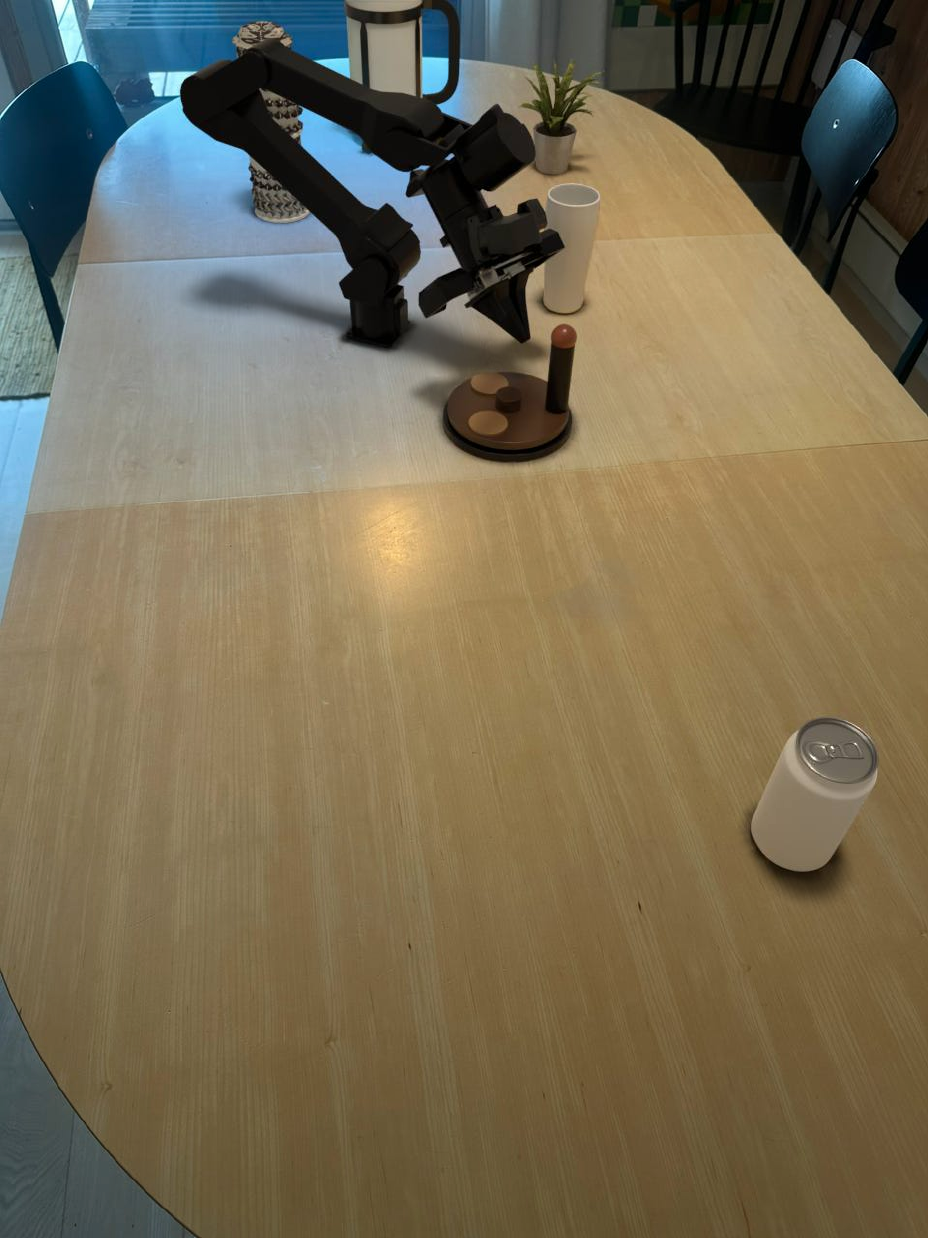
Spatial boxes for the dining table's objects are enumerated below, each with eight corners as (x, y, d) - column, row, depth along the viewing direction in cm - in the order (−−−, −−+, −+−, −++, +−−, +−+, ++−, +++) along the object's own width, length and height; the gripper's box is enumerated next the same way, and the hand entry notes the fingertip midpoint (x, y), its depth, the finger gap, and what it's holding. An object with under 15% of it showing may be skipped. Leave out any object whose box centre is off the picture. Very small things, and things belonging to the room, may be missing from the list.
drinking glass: (584, 320, 128) (598, 208, 117) (534, 314, 129) (543, 202, 118) (590, 295, 133) (604, 185, 122) (541, 289, 134) (550, 179, 123)
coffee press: (403, 164, 161) (398, -50, 139) (327, 142, 167) (311, -68, 145) (460, 131, 171) (464, -73, 149) (387, 111, 177) (380, -89, 155)
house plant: (600, 190, 156) (614, 80, 144) (514, 188, 156) (521, 77, 144) (593, 154, 165) (606, 48, 153) (512, 152, 165) (519, 45, 153)
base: (422, 443, 110) (422, 435, 109) (470, 374, 119) (470, 367, 119) (548, 475, 106) (549, 468, 105) (587, 402, 116) (588, 395, 115)
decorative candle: (325, 206, 150) (310, 24, 131) (287, 229, 144) (265, 42, 126) (279, 192, 153) (258, 11, 135) (240, 213, 148) (212, 28, 129)
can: (739, 804, 78) (778, 714, 69) (817, 799, 79) (865, 709, 70) (763, 877, 74) (807, 791, 65) (845, 871, 74) (900, 785, 65)
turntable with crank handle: (444, 447, 107) (445, 357, 99) (450, 376, 117) (451, 288, 108) (570, 452, 107) (582, 362, 99) (566, 380, 116) (576, 292, 108)
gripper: (435, 204, 97) (507, 347, 100) (561, 155, 106) (624, 287, 109) (387, 251, 107) (453, 380, 110) (506, 202, 116) (565, 322, 119)
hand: (526, 341), depth 111 cm, fingers closed
